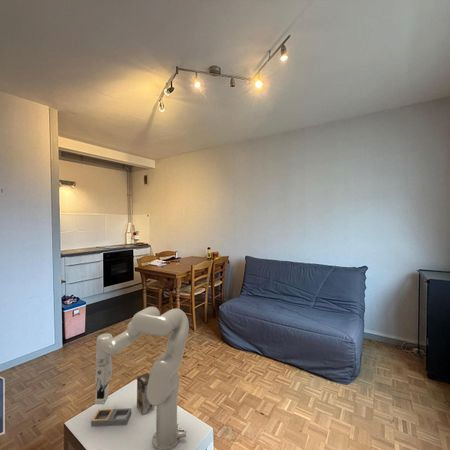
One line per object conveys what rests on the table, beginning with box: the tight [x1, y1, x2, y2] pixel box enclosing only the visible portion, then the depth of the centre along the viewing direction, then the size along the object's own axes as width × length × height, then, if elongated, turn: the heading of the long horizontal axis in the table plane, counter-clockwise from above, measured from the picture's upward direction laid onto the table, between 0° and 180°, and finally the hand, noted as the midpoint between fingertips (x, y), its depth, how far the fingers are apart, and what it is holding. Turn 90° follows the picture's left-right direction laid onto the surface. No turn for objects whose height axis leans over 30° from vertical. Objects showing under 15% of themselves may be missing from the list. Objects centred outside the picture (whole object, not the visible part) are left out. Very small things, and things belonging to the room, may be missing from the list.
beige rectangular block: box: [94, 382, 110, 405], centre depth 125 cm, size 4×4×8 cm
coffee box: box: [136, 372, 155, 416], centre depth 134 cm, size 9×6×16 cm
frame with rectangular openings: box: [90, 407, 132, 427], centre depth 125 cm, size 17×8×3 cm, turn 94°
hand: (102, 394), depth 125 cm, fingers closed on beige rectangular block, 4 cm apart
